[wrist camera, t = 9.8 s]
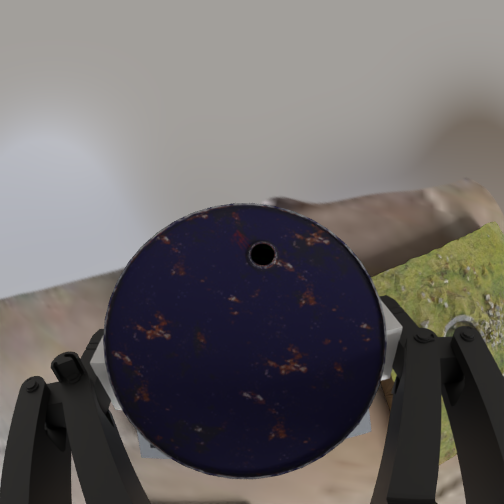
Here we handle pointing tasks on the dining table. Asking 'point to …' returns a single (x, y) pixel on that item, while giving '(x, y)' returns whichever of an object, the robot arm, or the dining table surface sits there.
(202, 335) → the storage jar
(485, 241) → the miniature landscape model
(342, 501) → the dining table surface
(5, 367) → the dining table surface
